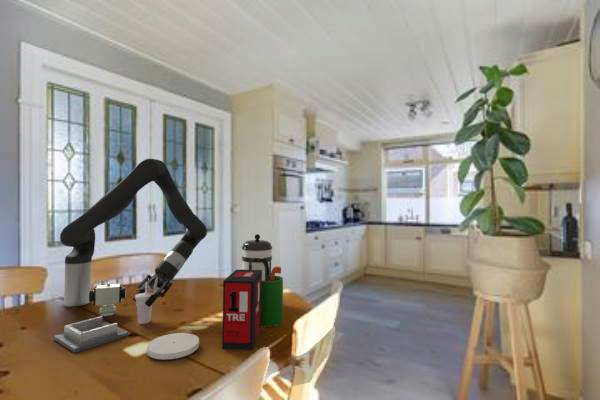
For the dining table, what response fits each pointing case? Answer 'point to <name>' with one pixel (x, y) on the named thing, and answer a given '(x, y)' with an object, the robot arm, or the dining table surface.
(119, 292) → the pneumatic valve
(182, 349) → the plastic lid
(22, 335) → the dining table surface
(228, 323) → the cleaning product box
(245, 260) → the coffee press
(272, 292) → the green cylindrical container
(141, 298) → the smoothie
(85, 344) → the mount plate
